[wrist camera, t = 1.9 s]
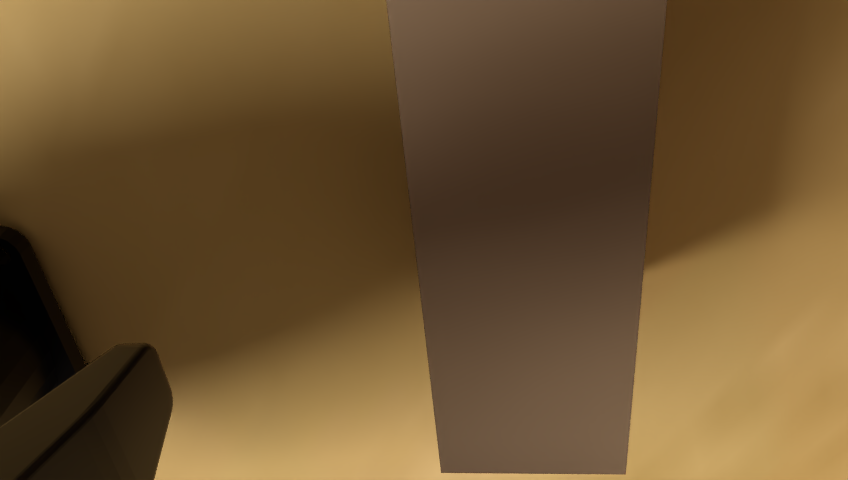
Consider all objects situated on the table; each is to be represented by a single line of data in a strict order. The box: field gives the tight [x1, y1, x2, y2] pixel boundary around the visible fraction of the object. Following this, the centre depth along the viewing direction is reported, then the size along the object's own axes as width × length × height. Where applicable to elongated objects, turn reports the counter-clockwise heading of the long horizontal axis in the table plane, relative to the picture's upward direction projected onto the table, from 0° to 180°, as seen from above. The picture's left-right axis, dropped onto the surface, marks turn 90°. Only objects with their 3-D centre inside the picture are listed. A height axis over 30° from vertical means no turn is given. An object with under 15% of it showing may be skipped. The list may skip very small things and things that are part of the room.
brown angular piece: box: [386, 0, 667, 474], centre depth 11 cm, size 11×14×5 cm
